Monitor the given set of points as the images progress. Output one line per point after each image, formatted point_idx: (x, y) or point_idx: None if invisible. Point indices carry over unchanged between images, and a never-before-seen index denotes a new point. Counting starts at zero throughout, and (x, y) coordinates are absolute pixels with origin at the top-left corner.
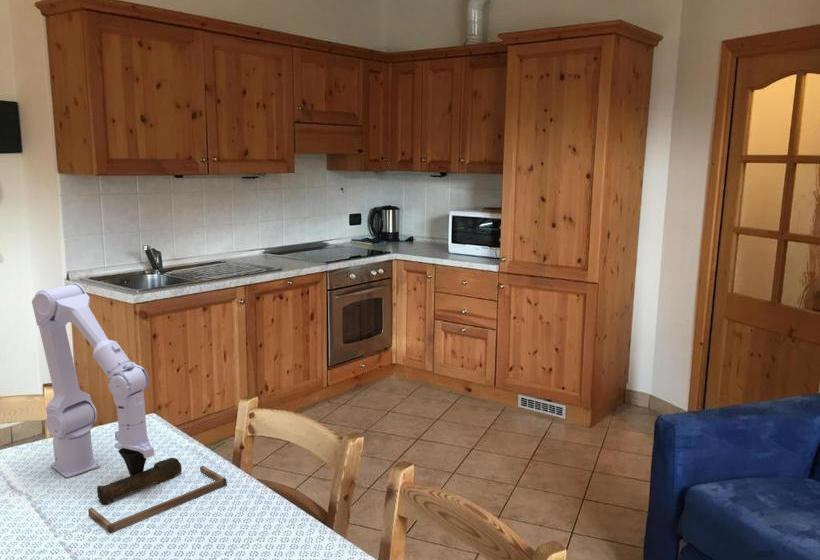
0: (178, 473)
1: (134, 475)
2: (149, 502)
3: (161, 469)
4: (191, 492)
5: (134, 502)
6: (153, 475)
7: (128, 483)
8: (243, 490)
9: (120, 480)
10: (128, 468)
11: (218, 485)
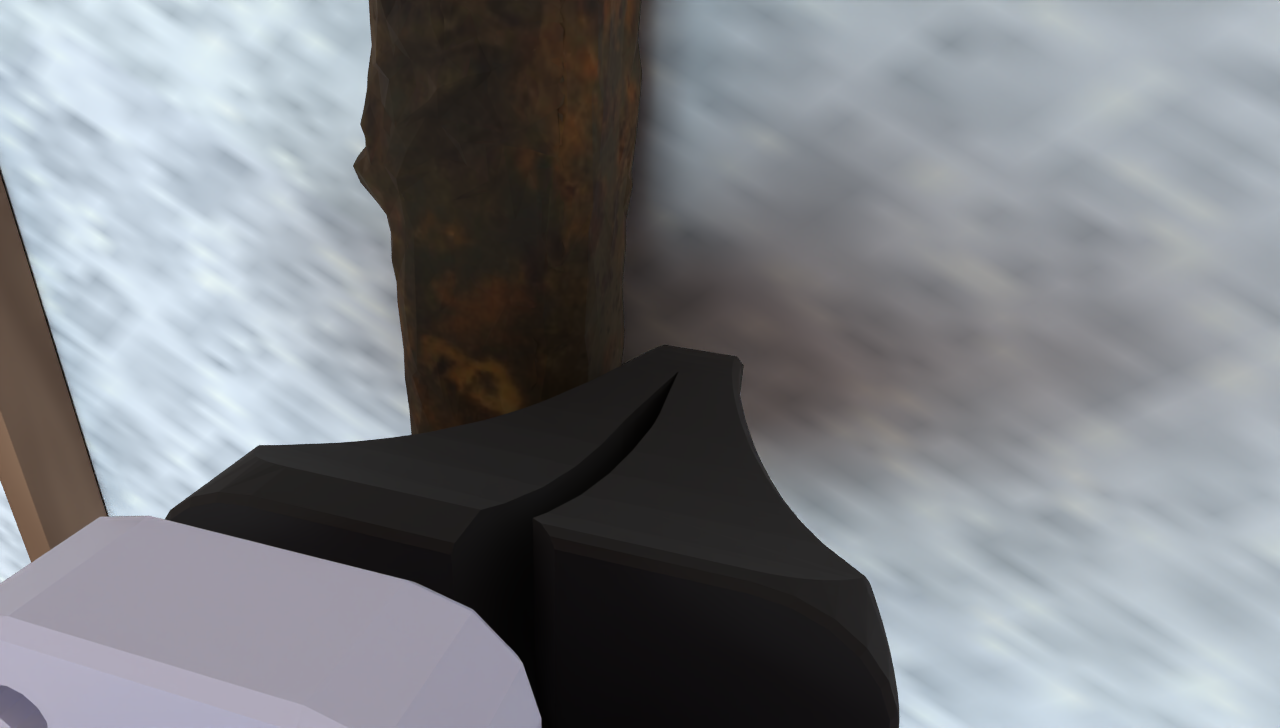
0: None
1: (500, 343)
2: (195, 174)
3: None
4: (2, 471)
5: (288, 59)
6: None
7: (367, 143)
8: None
9: (442, 69)
10: (694, 407)
11: None
